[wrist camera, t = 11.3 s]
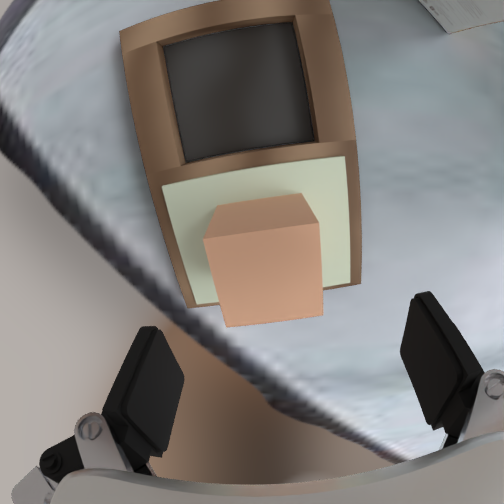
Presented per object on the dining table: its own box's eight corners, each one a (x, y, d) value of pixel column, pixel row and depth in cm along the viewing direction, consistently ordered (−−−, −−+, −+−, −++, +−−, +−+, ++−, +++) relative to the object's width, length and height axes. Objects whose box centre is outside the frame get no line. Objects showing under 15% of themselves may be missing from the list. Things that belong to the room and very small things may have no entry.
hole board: (321, -1, 13) (327, -11, 11) (355, 274, 23) (362, 285, 21) (127, 35, 14) (117, 30, 13) (191, 297, 24) (186, 310, 22)
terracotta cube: (301, 193, 18) (319, 222, 13) (308, 267, 20) (323, 315, 15) (217, 205, 18) (202, 239, 13) (232, 277, 21) (226, 327, 16)
